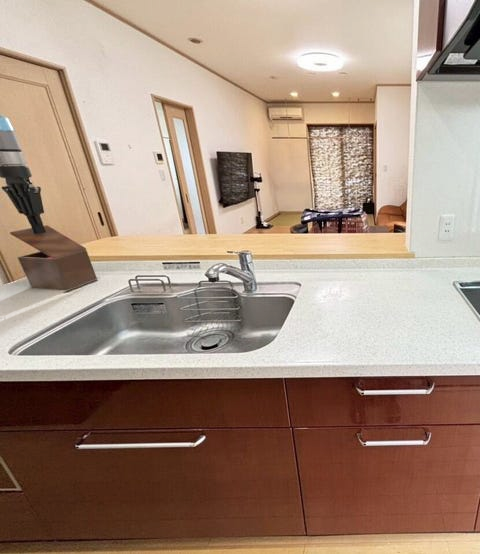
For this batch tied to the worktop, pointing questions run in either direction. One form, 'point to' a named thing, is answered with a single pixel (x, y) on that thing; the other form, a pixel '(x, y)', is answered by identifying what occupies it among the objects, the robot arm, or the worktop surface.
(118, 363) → the worktop surface
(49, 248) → the chest lid
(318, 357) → the worktop surface
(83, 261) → the chest
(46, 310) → the worktop surface
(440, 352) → the worktop surface
